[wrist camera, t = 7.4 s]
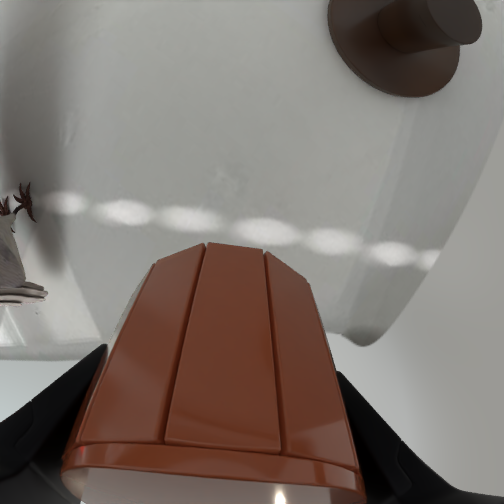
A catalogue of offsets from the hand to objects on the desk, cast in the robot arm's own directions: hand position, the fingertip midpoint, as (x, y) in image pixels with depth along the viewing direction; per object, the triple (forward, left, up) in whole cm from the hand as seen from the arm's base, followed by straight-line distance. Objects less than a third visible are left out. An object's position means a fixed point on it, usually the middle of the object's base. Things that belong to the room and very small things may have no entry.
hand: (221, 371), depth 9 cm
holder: (-7, -14, -10) cm, 18 cm away
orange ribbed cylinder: (0, 0, -2) cm, 2 cm away
